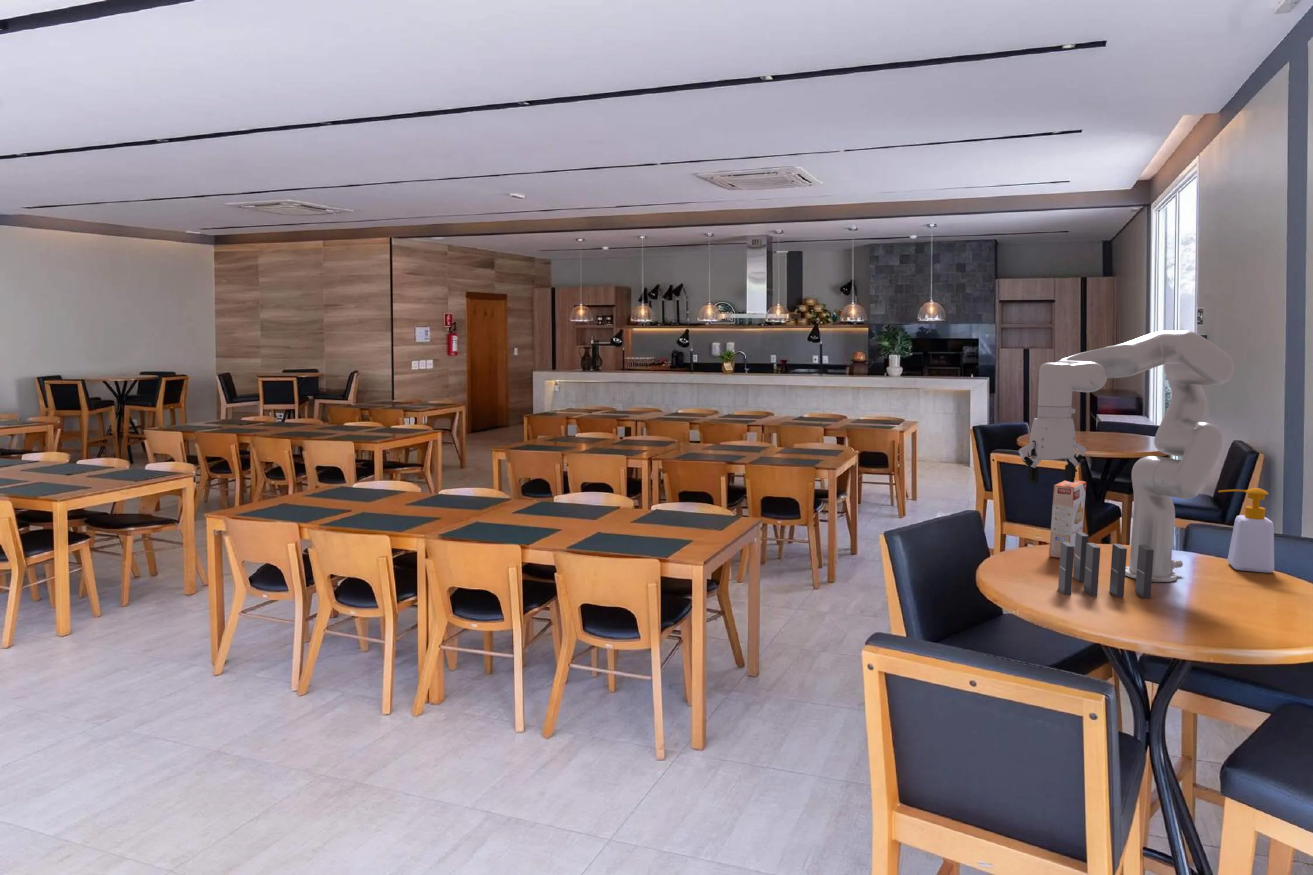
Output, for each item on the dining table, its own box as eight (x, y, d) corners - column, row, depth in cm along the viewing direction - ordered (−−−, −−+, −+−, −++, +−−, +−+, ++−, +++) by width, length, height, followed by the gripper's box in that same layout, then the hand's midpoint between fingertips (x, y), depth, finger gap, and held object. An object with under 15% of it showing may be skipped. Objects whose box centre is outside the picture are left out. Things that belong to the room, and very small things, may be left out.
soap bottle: (1208, 561, 257) (1214, 483, 254) (1266, 566, 252) (1273, 486, 249) (1215, 569, 248) (1221, 488, 245) (1275, 574, 243) (1282, 492, 240)
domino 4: (1116, 597, 220) (1119, 548, 219) (1109, 591, 225) (1112, 543, 224) (1123, 597, 220) (1127, 548, 219) (1116, 591, 225) (1119, 543, 224)
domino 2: (1078, 581, 234) (1081, 535, 232) (1072, 576, 239) (1075, 531, 237) (1085, 582, 234) (1088, 536, 232) (1079, 577, 238) (1082, 531, 237)
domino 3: (1090, 595, 221) (1093, 547, 220) (1083, 590, 226) (1086, 542, 225) (1097, 596, 221) (1100, 547, 220) (1090, 590, 226) (1093, 542, 225)
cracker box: (1070, 560, 256) (1075, 486, 253) (1047, 557, 259) (1052, 484, 257) (1082, 551, 267) (1087, 480, 264) (1060, 548, 270) (1065, 478, 268)
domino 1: (1064, 594, 222) (1067, 546, 221) (1058, 588, 227) (1061, 541, 226) (1071, 594, 222) (1074, 546, 221) (1065, 589, 227) (1068, 541, 225)
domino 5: (1142, 598, 220) (1146, 549, 218) (1135, 592, 225) (1138, 544, 223) (1150, 598, 219) (1153, 549, 218) (1142, 592, 224) (1145, 544, 223)
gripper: (1077, 411, 229) (1074, 478, 231) (1013, 412, 226) (1010, 480, 228) (1096, 413, 221) (1092, 483, 223) (1029, 415, 219) (1026, 486, 221)
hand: (1051, 482), depth 226 cm, fingers open, 9 cm apart
